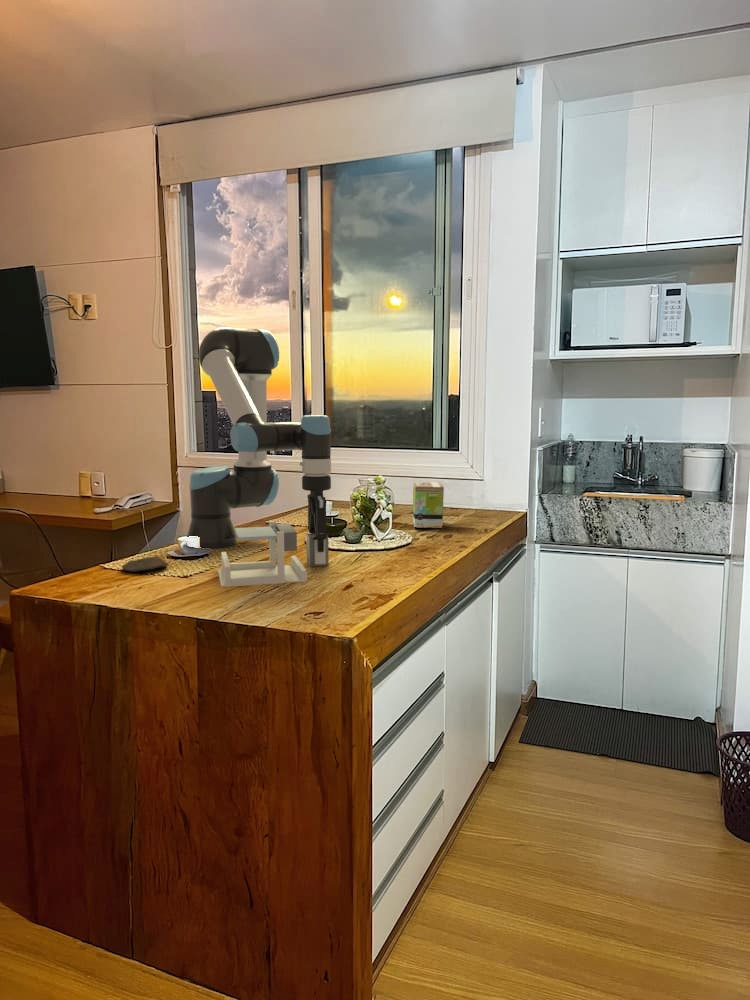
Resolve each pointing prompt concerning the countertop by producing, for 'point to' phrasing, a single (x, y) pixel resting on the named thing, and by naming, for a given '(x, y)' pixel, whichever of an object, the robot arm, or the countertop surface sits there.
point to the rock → (145, 564)
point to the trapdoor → (269, 535)
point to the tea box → (428, 504)
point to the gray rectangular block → (311, 550)
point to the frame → (263, 567)
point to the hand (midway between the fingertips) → (317, 560)
